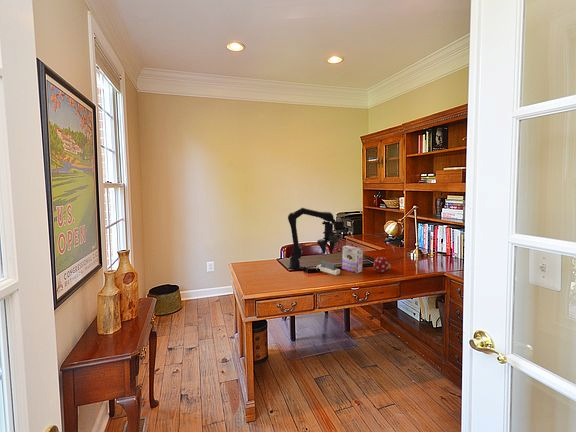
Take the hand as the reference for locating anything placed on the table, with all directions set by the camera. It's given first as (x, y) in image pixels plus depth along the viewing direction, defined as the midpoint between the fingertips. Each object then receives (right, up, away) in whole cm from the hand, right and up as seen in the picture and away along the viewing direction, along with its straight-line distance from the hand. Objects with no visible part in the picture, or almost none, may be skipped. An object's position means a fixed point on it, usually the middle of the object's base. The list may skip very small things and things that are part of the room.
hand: (328, 252), depth 226 cm
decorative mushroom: (+38, -13, -2) cm, 40 cm away
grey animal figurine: (0, -12, -4) cm, 13 cm away
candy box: (+16, -13, -1) cm, 21 cm away
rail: (0, -13, -4) cm, 14 cm away
